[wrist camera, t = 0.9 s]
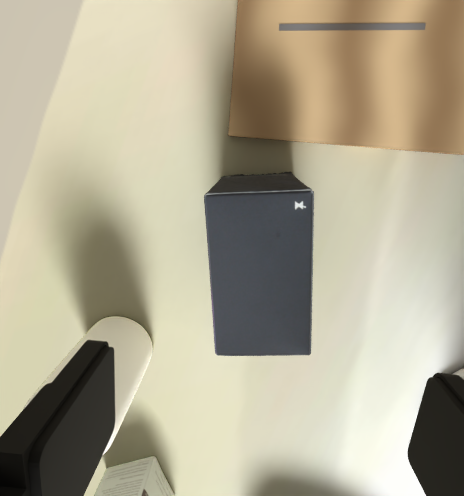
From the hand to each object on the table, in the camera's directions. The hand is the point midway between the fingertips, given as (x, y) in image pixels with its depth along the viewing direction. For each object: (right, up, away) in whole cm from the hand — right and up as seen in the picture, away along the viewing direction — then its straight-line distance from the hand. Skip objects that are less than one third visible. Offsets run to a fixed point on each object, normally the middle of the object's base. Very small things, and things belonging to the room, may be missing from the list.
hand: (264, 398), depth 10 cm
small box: (+1, +6, +20) cm, 21 cm away
